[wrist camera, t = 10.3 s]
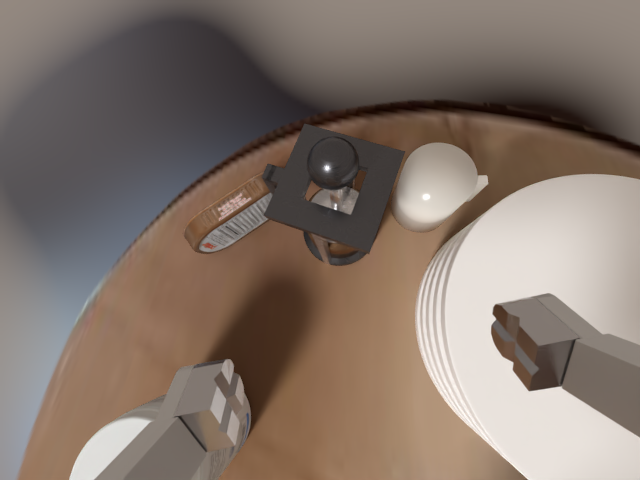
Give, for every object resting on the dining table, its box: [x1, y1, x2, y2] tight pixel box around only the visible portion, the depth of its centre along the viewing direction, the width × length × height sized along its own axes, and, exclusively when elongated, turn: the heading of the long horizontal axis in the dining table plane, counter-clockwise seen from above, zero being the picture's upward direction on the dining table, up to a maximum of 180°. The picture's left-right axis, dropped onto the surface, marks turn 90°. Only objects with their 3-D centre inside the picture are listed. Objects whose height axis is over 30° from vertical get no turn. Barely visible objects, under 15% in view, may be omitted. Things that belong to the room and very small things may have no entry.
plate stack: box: [415, 174, 640, 480], centre depth 29 cm, size 28×28×12 cm
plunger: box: [307, 136, 359, 244], centre depth 27 cm, size 7×7×14 cm
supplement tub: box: [69, 393, 251, 480], centre depth 28 cm, size 10×10×15 cm
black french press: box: [261, 124, 405, 266], centre depth 32 cm, size 12×10×15 cm
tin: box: [183, 172, 273, 254], centre depth 37 cm, size 15×3×8 cm, turn 125°
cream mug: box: [391, 143, 488, 232], centre depth 35 cm, size 9×8×9 cm
